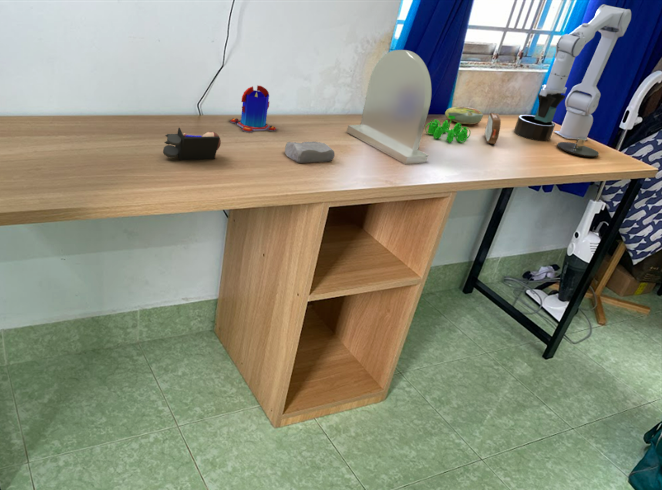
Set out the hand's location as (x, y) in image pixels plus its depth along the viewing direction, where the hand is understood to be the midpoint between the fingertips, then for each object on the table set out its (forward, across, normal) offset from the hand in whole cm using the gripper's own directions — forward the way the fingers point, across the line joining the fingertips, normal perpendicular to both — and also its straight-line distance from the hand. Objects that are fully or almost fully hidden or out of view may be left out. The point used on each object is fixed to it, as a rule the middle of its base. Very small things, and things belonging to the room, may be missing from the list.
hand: (544, 116), depth 208 cm
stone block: (+10, +91, -21) cm, 94 cm away
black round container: (+10, -9, -6) cm, 15 cm away
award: (+10, +60, -19) cm, 63 cm away
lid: (+9, -8, +12) cm, 17 cm away
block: (+1, 0, 0) cm, 1 cm away
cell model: (+10, +6, -26) cm, 29 cm away
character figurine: (+9, +121, -32) cm, 126 cm away
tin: (+10, +16, -9) cm, 21 cm away
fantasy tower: (+9, +88, -48) cm, 100 cm away
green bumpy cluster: (+10, +30, -17) cm, 35 cm away
